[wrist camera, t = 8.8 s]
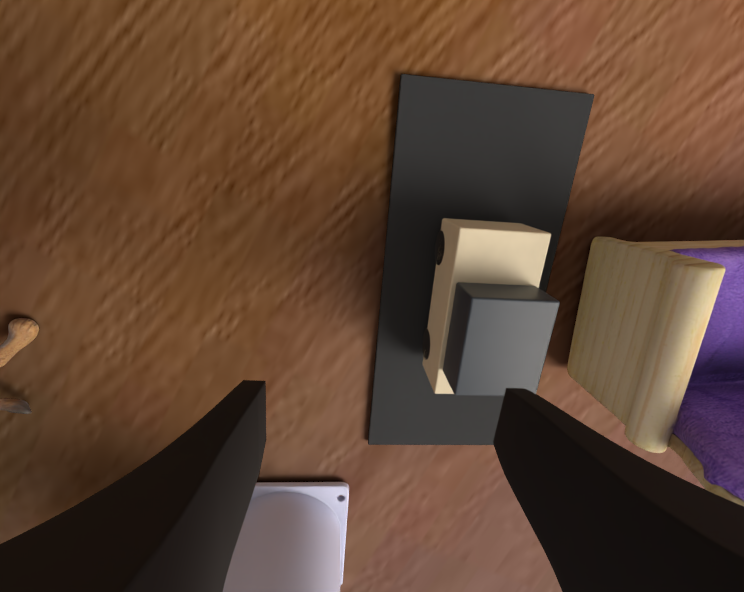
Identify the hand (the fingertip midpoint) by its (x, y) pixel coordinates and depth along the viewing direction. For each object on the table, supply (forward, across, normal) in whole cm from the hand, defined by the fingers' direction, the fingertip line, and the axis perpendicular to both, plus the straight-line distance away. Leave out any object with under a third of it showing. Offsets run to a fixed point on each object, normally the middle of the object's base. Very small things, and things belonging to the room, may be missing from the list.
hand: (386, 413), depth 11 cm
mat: (+9, -5, -1) cm, 11 cm away
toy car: (+9, -5, -1) cm, 11 cm away
